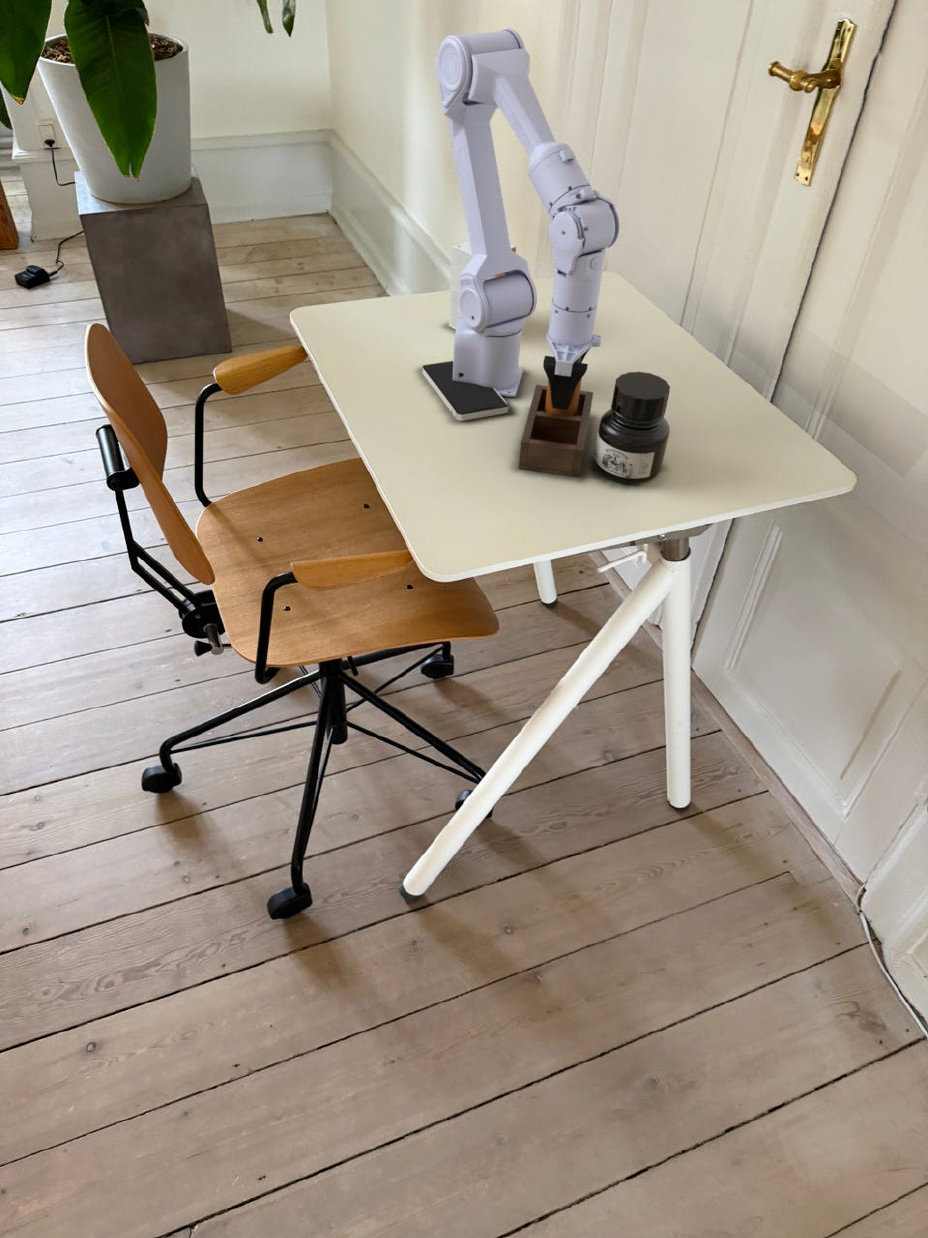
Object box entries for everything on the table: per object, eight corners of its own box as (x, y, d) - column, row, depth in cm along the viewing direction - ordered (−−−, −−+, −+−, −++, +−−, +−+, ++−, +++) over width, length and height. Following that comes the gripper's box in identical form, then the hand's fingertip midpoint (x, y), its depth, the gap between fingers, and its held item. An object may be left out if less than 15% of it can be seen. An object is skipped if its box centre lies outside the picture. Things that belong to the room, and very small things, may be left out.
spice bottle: (542, 422, 126) (549, 357, 119) (546, 405, 129) (553, 342, 123) (574, 426, 125) (583, 362, 119) (577, 410, 129) (586, 346, 122)
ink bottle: (577, 466, 122) (589, 384, 114) (614, 439, 127) (628, 359, 119) (640, 496, 118) (657, 413, 110) (675, 467, 123) (695, 386, 115)
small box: (475, 340, 146) (479, 258, 137) (447, 326, 149) (450, 245, 141) (510, 325, 151) (517, 245, 142) (483, 312, 154) (487, 232, 145)
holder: (518, 468, 121) (521, 441, 118) (533, 410, 132) (536, 384, 129) (579, 477, 120) (583, 450, 117) (589, 417, 131) (593, 391, 128)
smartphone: (470, 357, 140) (510, 405, 130) (470, 365, 141) (510, 413, 131) (420, 365, 138) (457, 415, 128) (420, 372, 139) (457, 422, 129)
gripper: (602, 331, 110) (586, 430, 120) (610, 282, 121) (596, 376, 130) (543, 324, 111) (532, 423, 120) (557, 275, 122) (546, 370, 131)
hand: (562, 398), depth 125 cm, fingers closed on spice bottle, 4 cm apart
